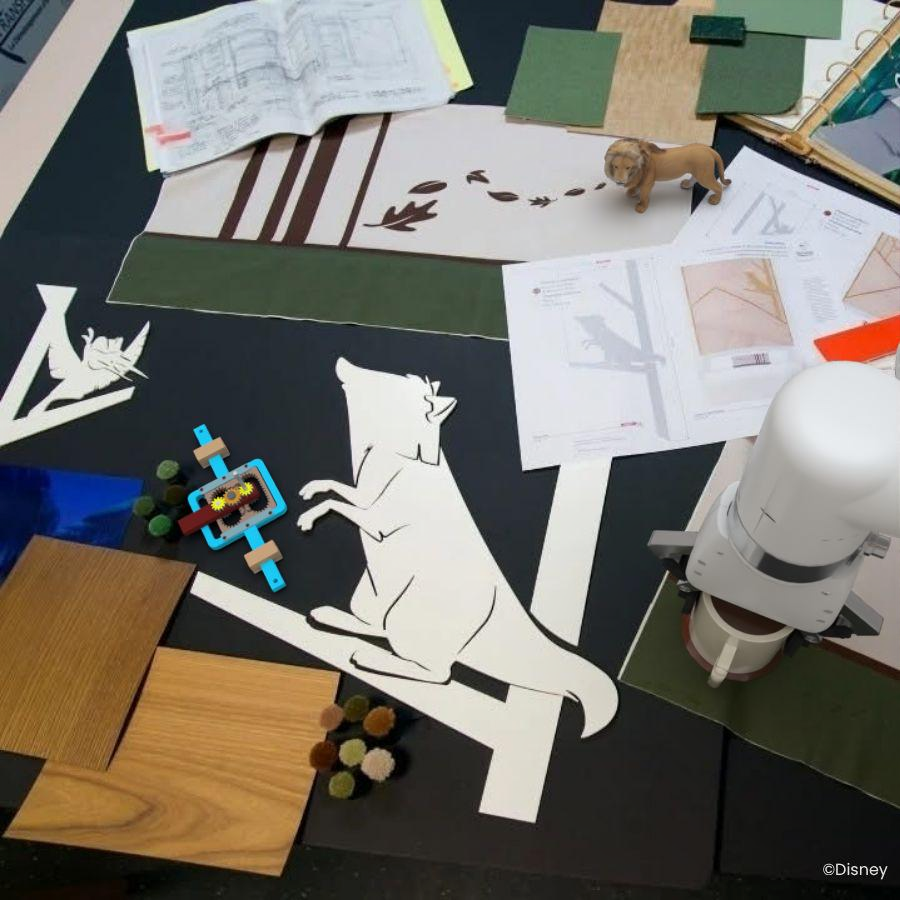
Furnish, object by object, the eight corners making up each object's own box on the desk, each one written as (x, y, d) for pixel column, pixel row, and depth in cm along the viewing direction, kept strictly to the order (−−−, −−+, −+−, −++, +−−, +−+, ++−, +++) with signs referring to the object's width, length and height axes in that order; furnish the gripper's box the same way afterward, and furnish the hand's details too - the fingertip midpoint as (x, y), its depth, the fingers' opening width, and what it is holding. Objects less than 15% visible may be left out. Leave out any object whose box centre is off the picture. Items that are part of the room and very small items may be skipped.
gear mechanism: (226, 621, 76) (320, 569, 78) (205, 600, 72) (305, 544, 73) (153, 458, 86) (237, 414, 88) (129, 429, 81) (219, 384, 83)
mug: (707, 574, 73) (723, 534, 66) (792, 611, 70) (818, 573, 63) (664, 673, 69) (676, 642, 62) (752, 716, 67) (775, 688, 60)
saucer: (813, 572, 73) (816, 567, 72) (816, 727, 67) (819, 724, 66) (657, 551, 75) (658, 546, 74) (645, 699, 69) (646, 696, 68)
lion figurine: (607, 228, 95) (612, 164, 87) (595, 195, 98) (598, 130, 90) (738, 201, 95) (754, 134, 87) (721, 168, 98) (735, 101, 90)
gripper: (960, 520, 51) (867, 620, 66) (676, 424, 56) (650, 536, 72) (933, 632, 48) (842, 710, 63) (635, 519, 53) (617, 615, 68)
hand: (741, 617), depth 67 cm, fingers closed on mug, 7 cm apart
